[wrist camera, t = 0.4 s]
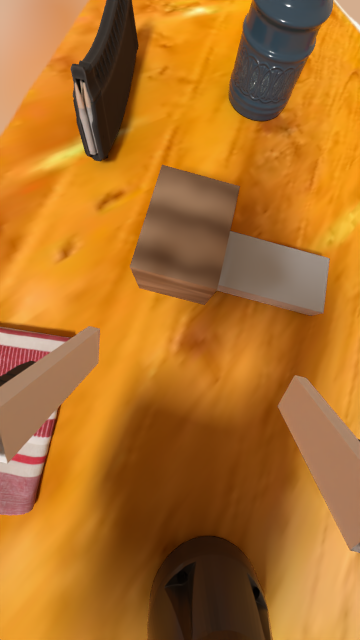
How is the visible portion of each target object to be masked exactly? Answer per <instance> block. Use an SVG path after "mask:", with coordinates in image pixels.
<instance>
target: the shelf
mask: <svg viewBox="0 0 360 640" xmlns="http://www.w3.org/2000/svg"><path fill="white" fill-rule="evenodd" d="M239 188H240V186H237V185H233V184H230V183H226V182H222V181H219V180H215V179H211V178H208V177H204V176H201V175H197V174H193V173H190V172H186V171H182V170H179V169H175V168H172V167H168V166H164V165H162V167H161V170H160V173H159V176H158V179H157V183H156V186H155V189H154V192H153V195H152V198H151V202H150V205H149V208H148V211H147V214H146V217H145V221H144V224H143V227H142V230H141V233H140V236H139V239H138V243H137V246H136V249H135V252H134V255H133V258H132V262H131V265H130V268H131V270H132V273H133V275H134V277H135V279H136V281H137V284H138V286H139V288H141V289H145V290H149V291H153V292H157V293H161V294H165V295H169V296H172V297H176V298H180V299H184V300H188V301H192V302H196V303H200V304H204V305H205V304H206V303H207V301H208V300H209V299H210V298H211V297H212V295H213V294H214V293H215V292H216V291H217V289H218V284H219V280H220V275H221V271H222V266H223V262H224V257H225V252H226V248H227V243H228V239H229V234H230V229H231V225H232V220H233V216H234V211H235V206H236V202H237V197H238V193H239Z"/></svg>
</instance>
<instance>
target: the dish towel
mask: <svg viewBox="0 0 360 640" xmlns="http://www.w3.org/2000/svg"><path fill="white" fill-rule="evenodd" d="M69 339H71V338H69V337H62V336H56V335H50V334H44V333H38V332H31V331H24V330H18V329H12V328H5V327H0V376H2V375H3V374H6V372H8V371H10V370H11V369H13V368H14V367H16V366H18V365H20V364H23V363H26V362H28V361H35V362H37V361H39V360H40V359H42V358H43V357H44V356H46V355H47V354H49V353H50V352H52V351H53V350H55V349H56V348H58V347H59V346H61V345H62V344H64V343H65V342H66V341H68V340H69ZM57 410H58V408H57V409H56V410H55V411H54V413H53V414H52V415H51V416H50V417H49V418H48V419H47V420H46V421H45V423H44V424H43V425H42V426H41V427H40V428H39V429H38V430H37V431H36V433H35V434H34V435H33V436H32V437H31V438H30V439H29V440H28V441H27V443H26V444H25V445H24V446H23V447H22V448H21V449H20V450H19V451H18V453H17V454H16V455H15V456H14V457H13V458H12V459H11V460H10V461H9V463H8V464H7V463H3V462H0V514H1V515H21V514H25V513H27V512H29V511H31V510H32V509H33V506H34V503H35V499H36V492H37V489H38V485H39V481H40V477H41V474H42V470H43V466H44V462H45V459H46V456H47V452H48V448H49V443H50V440H51V437H52V433H53V428H54V424H55V421H56V416H57Z"/></svg>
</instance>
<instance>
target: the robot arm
mask: <svg viewBox="0 0 360 640" xmlns="http://www.w3.org/2000/svg"><path fill="white" fill-rule="evenodd" d="M99 337H100V329H98V328H94V327H90V326H88V327H87V328H85V329H84V330H83V331H81V332H80V333H78V334H77V335H75V336H74V337H72V338H71V339H69V340H68V341H66V342H65V343H64V344H62V345H61V346H59V347H58V348H56V349H55V350H53V351H52V352H50V353H49V354H47V355H46V356H44V357H43V358H42V359H40V360H39V361H37V362H35V361H28V362H26V363H23V364H20V365H18V366H16V367H14V368H13V369H11V370H10V371H8V372H6V374H3V375H2V376H0V462H3V463H7V464H8V463H9V461H10V460H11V459H12V458H13V457H14V456H15V455H16V454H17V453H18V451H19V450H20V449H21V448H22V447H23V446H24V445H25V444H26V443H27V441H28V440H29V439H30V438H31V437H32V436H33V435H34V434H35V433H36V431H37V430H38V429H39V428H40V427H41V426H42V425H43V424H44V423H45V421H46V420H47V419H48V418H49V417H50V416H51V415H52V414H53V413H54V411H55V410H56V409H57V408H58V407H59V406H60V405H61V404H62V403H63V402H64V400H65V399H66V398H67V397H68V396H69V395H70V394H71V393H72V392H73V390H74V389H75V388H76V387H77V386H78V385H79V384H80V383H81V382H82V380H83V379H84V378H85V377H86V376H87V375H88V374H89V373H90V372H91V370H92V369H93V368H94V367H95V366H96V365H97V364H98V358H99ZM278 408H279V410H280V412H281V414H282V416H283V418H284V420H285V422H286V424H287V426H288V428H289V430H290V432H291V434H292V436H293V438H294V440H295V442H296V444H297V446H298V448H299V450H300V452H301V454H302V456H303V458H304V460H305V462H306V464H307V466H308V468H309V470H310V472H311V474H312V476H313V478H314V480H315V482H316V484H317V486H318V488H319V490H320V492H321V494H322V496H323V498H324V500H325V502H326V504H327V506H328V508H329V510H330V512H331V514H332V516H333V518H334V520H335V522H336V524H337V526H338V527H339V529H340V531H341V533H342V535H343V537H344V539H345V541H346V543H347V545H348V547H349V549H350V550H351V551H355V552H359V553H360V440H359V439H357V438H356V437H355V435H354V434H353V433H352V432H351V431H350V429H349V428H348V427H347V426H346V425H345V423H344V422H343V421H342V420H341V419H340V418H339V416H338V415H337V414H336V413H335V412H334V410H333V409H332V408H331V407H330V406H329V404H328V403H327V402H326V401H325V400H324V398H323V397H322V396H321V395H320V394H319V393H318V391H317V390H316V389H315V388H314V387H313V385H312V384H311V383H310V382H309V381H308V379H307V378H305V377H300V376H296V375H294V377H293V379H292V381H291V383H290V384H289V386H288V388H287V390H286V392H285V393H284V395H283V397H282V399H281V401H280V403H279V404H278ZM148 640H273V638H272V632H271V626H270V620H269V614H268V609H267V604H266V601H265V597H264V594H263V591H262V589H261V586H260V583H259V581H258V578H257V576H256V573H255V571H254V569H253V567H252V565H251V563H250V561H249V560H248V558H247V557H246V556H245V554H244V553H243V552H242V551H241V550H240V549H239V548H237V547H236V546H235V545H233V544H232V543H230V542H228V541H226V540H224V539H221V538H217V537H199V538H195V539H192V540H189V541H187V542H185V543H183V544H182V545H180V546H179V547H178V548H176V549H175V550H174V551H173V552H172V553H171V554H170V555H169V556H168V557H167V558H166V560H165V561H164V563H163V564H162V566H161V567H160V569H159V571H158V573H157V575H156V577H155V580H154V583H153V586H152V590H151V594H150V601H149V614H148Z"/></svg>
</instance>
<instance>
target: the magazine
mask: <svg viewBox="0 0 360 640" xmlns="http://www.w3.org/2000/svg"><path fill="white" fill-rule="evenodd" d="M137 50H138V40H137V33H136V26H135V20H134V13H133V6H132V0H107V1H106V5H105V8H104V12H103V16H102V20H101V23H100V27H99V30H98V33H97V35H96V38H95V40H94V42H93V44H92V47H91V48H90V50H89V52H88V53H87V55H86V56H85V58H84V59H83V60H82V61H80V62H79V65H78V64H72V66H71V72H72V77H73V81H74V91H73V97H74V100H73V101H74V106H75V111H76V116H77V125H78V128H79V132H80V135H81V139H82V142H83V146H84V149H85V153H86V155H87V156H89V157H92V158H93V159H94V160H96V161H101V160H102V159H105V158H108V153H109V151H110V149H111V147H112V145H113V143H114V140H115V138H116V135H117V133H118V131H119V128H120V125H121V122H122V119H123V116H124V113H125V109H126V105H127V101H128V96H129V92H130V87H131V82H132V76H133V70H134V65H135V59H136V53H137Z"/></svg>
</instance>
